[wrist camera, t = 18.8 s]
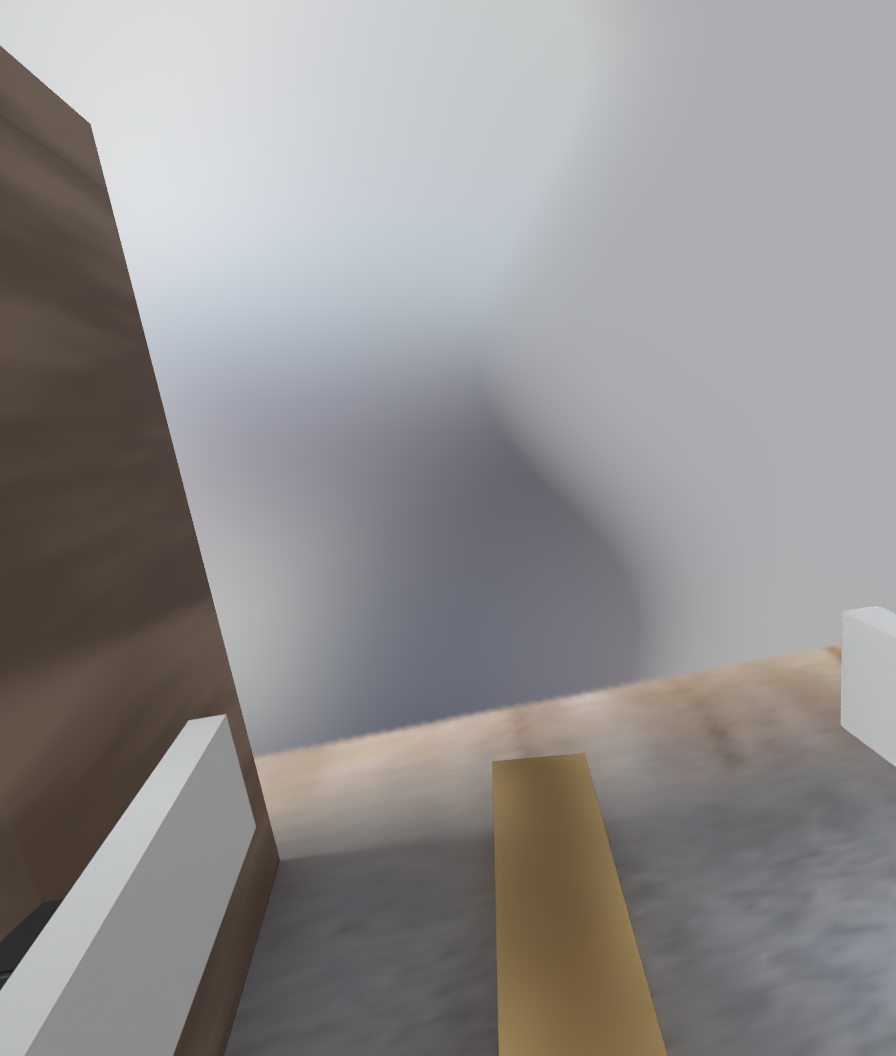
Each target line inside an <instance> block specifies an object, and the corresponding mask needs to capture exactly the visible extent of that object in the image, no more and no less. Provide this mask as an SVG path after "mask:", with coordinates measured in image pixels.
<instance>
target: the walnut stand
mask: <svg viewBox="0 0 896 1056" xmlns="http://www.w3.org/2000/svg"><path fill="white" fill-rule="evenodd" d="M224 714H226V716H227V719H228V723H229V727H230V731H231V735H232V738H233V742H234V746H235V750H236V753H237V757H238V761H239V765H240V769H241V772H242V776H243V780H244V784H245V787H246V791H247V795H248V799H249V803H250V806H251V810H252V814H253V818H254V821H255V825H256V829H255V831H254V834H253V837H252V840H251V842H250V845H249V848H248V851H247V853H246V856H245V859H244V862H243V864H242V867H241V870H240V873H239V875H238V878H237V881H236V884H235V886H234V889H233V892H232V895H231V897H230V900H229V903H228V906H227V908H226V911H225V914H224V917H223V919H222V922H221V925H220V928H219V930H218V933H217V936H216V939H215V941H214V944H213V947H212V950H211V952H210V955H209V958H208V961H207V963H206V966H205V969H204V972H203V974H202V977H201V980H200V983H199V985H198V988H197V991H196V994H195V996H194V999H193V1002H192V1005H191V1007H190V1010H189V1013H188V1016H187V1018H186V1021H185V1024H184V1027H183V1029H182V1032H181V1035H180V1038H179V1041H178V1043H177V1046H176V1049H175V1052H174V1054H173V1056H224V1052H225V1049H226V1045H227V1042H228V1038H229V1035H230V1031H231V1028H232V1024H233V1021H234V1017H235V1014H236V1010H237V1007H238V1003H239V1000H240V996H241V993H242V989H243V986H244V982H245V979H246V975H247V972H248V968H249V965H250V961H251V958H252V954H253V951H254V947H255V944H256V940H257V937H258V933H259V930H260V926H261V923H262V919H263V916H264V912H265V909H266V905H267V902H268V898H269V895H270V891H271V888H272V884H273V881H274V877H275V874H276V870H277V867H278V863H279V860H280V859H279V855H278V851H277V847H276V844H275V840H274V836H273V832H272V828H271V824H270V820H269V816H268V813H267V809H266V805H265V801H264V797H263V793H262V789H261V785H260V781H259V778H258V774H257V770H256V766H255V762H254V758H253V754H252V750H251V747H250V743H249V739H248V735H247V731H246V727H245V724H244V719H243V715H242V711H241V708H240V704H239V700H238V696H237V692H236V689H235V684H234V681H233V677H232V673H231V669H230V665H229V661H228V657H227V653H226V649H225V646H224V642H223V638H222V634H221V630H220V627H219V622H218V618H217V614H216V610H215V607H214V603H213V599H212V595H211V591H210V587H209V583H208V579H207V576H206V572H205V568H204V564H203V560H202V556H201V552H200V548H199V544H198V541H197V537H196V533H195V529H194V525H193V521H192V517H191V513H190V510H189V506H188V502H187V498H186V494H185V490H184V486H183V482H182V478H181V475H180V471H179V467H178V463H177V459H176V455H175V451H174V447H173V443H172V440H171V436H170V432H169V428H168V424H167V420H166V416H165V412H164V408H163V404H162V401H161V397H160V393H159V389H158V385H157V381H156V377H155V373H154V369H153V366H152V362H151V358H150V354H149V350H148V346H147V342H146V338H145V335H144V331H143V327H142V323H141V319H140V315H139V311H138V308H137V304H136V300H135V296H134V292H133V288H132V284H131V280H130V276H129V272H128V269H127V265H126V261H125V257H124V253H123V249H122V245H121V241H120V238H119V233H118V230H117V226H116V222H115V218H114V214H113V211H112V206H111V203H110V199H109V195H108V191H107V187H106V183H105V180H104V175H103V171H102V167H101V164H100V160H99V156H98V152H97V148H96V144H95V140H94V136H93V132H92V129H91V125H90V123H88V122H87V121H86V120H85V119H84V118H83V117H82V116H80V115H79V114H78V113H77V112H76V111H75V110H74V109H72V108H71V107H70V106H69V105H68V104H67V103H65V102H64V101H63V100H62V99H61V98H60V97H59V96H57V95H56V94H55V93H54V92H53V91H52V90H51V89H49V88H48V87H47V86H46V85H45V84H44V83H43V82H41V81H40V80H39V79H38V78H37V77H36V76H34V75H33V74H32V73H31V72H30V71H29V70H28V69H26V68H25V67H24V66H23V65H22V64H21V63H19V62H18V61H17V60H16V59H15V58H14V57H13V56H12V55H10V54H9V53H8V52H7V51H6V50H5V49H3V48H2V47H1V46H0V943H1V942H2V940H3V939H4V938H5V937H6V936H7V935H8V934H9V933H10V932H11V931H12V930H13V929H14V928H16V927H17V926H18V925H19V924H20V923H21V922H22V921H23V920H24V919H26V918H27V917H28V916H29V915H30V914H31V913H32V912H33V911H34V910H35V909H37V908H38V907H39V906H40V905H41V904H42V903H43V902H48V901H54V900H59V899H65V897H66V896H67V894H68V893H69V891H70V890H71V889H72V887H73V886H74V884H75V883H76V881H77V880H78V879H79V877H80V876H81V874H82V873H83V871H84V870H85V869H86V867H87V866H88V864H89V863H90V861H91V860H92V858H93V857H94V856H95V854H96V853H97V851H98V850H99V848H100V847H101V846H102V844H103V843H104V841H105V840H106V838H107V837H108V836H109V834H110V833H111V831H112V830H113V828H114V827H115V825H116V824H117V823H118V821H119V820H120V818H121V817H122V815H123V814H124V813H125V811H126V810H127V808H128V807H129V805H130V804H131V803H132V801H133V800H134V798H135V797H136V795H137V794H138V792H139V791H140V790H141V788H142V787H143V785H144V784H145V782H146V781H147V780H148V778H149V777H150V775H151V774H152V772H153V771H154V770H155V768H156V767H157V765H158V764H159V762H160V761H161V759H162V758H163V757H164V755H165V754H166V752H167V751H168V749H169V748H170V747H171V745H172V744H173V742H174V741H175V739H176V738H177V737H178V735H179V734H180V732H181V731H182V729H183V728H184V726H185V725H186V724H187V722H188V721H189V720H194V719H200V718H206V717H212V716H218V715H224Z"/></svg>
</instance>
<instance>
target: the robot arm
mask: <svg viewBox="0 0 896 1056" xmlns="http://www.w3.org/2000/svg"><path fill="white" fill-rule="evenodd" d="M841 726H842V727H843V728H844V729H846V730H847V731H848V732H850V733H851V734H852V735H854V736H855V737H856V738H858V739H859V740H860V741H862V742H863V743H864V744H866V745H867V746H868V747H870V748H871V749H872V750H874V751H875V752H876V753H878V754H879V755H880V756H882V757H883V758H884V759H886V760H887V761H888V762H890V763H891V764H892V765H894V766H895V767H896V614H895V613H893V612H891V611H888V610H886V609H884V608H882V607H879V606H872V607H866V608H859V609H854V610H848V611H843V612H842V671H841ZM255 829H256V825H255V821H254V818H253V814H252V810H251V806H250V803H249V799H248V795H247V791H246V787H245V784H244V780H243V776H242V772H241V769H240V765H239V761H238V757H237V753H236V750H235V746H234V742H233V738H232V735H231V731H230V727H229V723H228V719H227V716H226V714H224V715H218V716H212V717H206V718H200V719H194V720H189V721H188V722H187V724H186V725H185V726H184V728H183V729H182V731H181V732H180V734H179V735H178V737H177V738H176V739H175V741H174V742H173V744H172V745H171V747H170V748H169V749H168V751H167V752H166V754H165V755H164V757H163V758H162V759H161V761H160V762H159V764H158V765H157V767H156V768H155V770H154V771H153V772H152V774H151V775H150V777H149V778H148V780H147V781H146V782H145V784H144V785H143V787H142V788H141V790H140V791H139V792H138V794H137V795H136V797H135V798H134V800H133V801H132V803H131V804H130V805H129V807H128V808H127V810H126V811H125V813H124V814H123V815H122V817H121V818H120V820H119V821H118V823H117V824H116V825H115V827H114V828H113V830H112V831H111V833H110V834H109V836H108V837H107V838H106V840H105V841H104V843H103V844H102V846H101V847H100V848H99V850H98V851H97V853H96V854H95V856H94V857H93V858H92V860H91V861H90V863H89V864H88V866H87V867H86V869H85V870H84V871H83V873H82V874H81V876H80V877H79V879H78V880H77V881H76V883H75V884H74V886H73V887H72V889H71V890H70V891H69V893H68V894H67V896H66V897H65V899H59V900H54V901H48V902H43V903H42V904H41V905H40V906H39V907H38V908H37V909H35V910H34V911H33V912H32V913H31V914H30V915H29V916H28V917H27V918H26V919H24V920H23V921H22V922H21V923H20V924H19V925H18V926H17V927H16V928H14V929H13V930H12V931H11V932H10V933H9V934H8V935H7V936H6V937H5V938H4V939H3V940H2V942H1V943H0V1056H173V1054H174V1052H175V1049H176V1046H177V1043H178V1041H179V1038H180V1035H181V1032H182V1029H183V1027H184V1024H185V1021H186V1018H187V1016H188V1013H189V1010H190V1007H191V1005H192V1002H193V999H194V996H195V994H196V991H197V988H198V985H199V983H200V980H201V977H202V974H203V972H204V969H205V966H206V963H207V961H208V958H209V955H210V952H211V950H212V947H213V944H214V941H215V939H216V936H217V933H218V930H219V928H220V925H221V922H222V919H223V917H224V914H225V911H226V908H227V906H228V903H229V900H230V897H231V895H232V892H233V889H234V886H235V884H236V881H237V878H238V875H239V873H240V870H241V867H242V864H243V862H244V859H245V856H246V853H247V851H248V848H249V845H250V842H251V840H252V837H253V834H254V831H255Z"/></svg>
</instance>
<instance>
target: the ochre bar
mask: <svg viewBox="0 0 896 1056" xmlns="http://www.w3.org/2000/svg"><path fill="white" fill-rule="evenodd" d="M493 806H494V854H495V902H496V950H497V998H498V1046H499V1056H668V1055H667V1052H666V1048H665V1044H664V1041H663V1037H662V1033H661V1030H660V1026H659V1023H658V1019H657V1015H656V1012H655V1008H654V1004H653V1001H652V997H651V994H650V990H649V986H648V983H647V979H646V975H645V972H644V968H643V964H642V961H641V957H640V954H639V950H638V946H637V943H636V939H635V935H634V932H633V928H632V925H631V921H630V917H629V914H628V910H627V906H626V903H625V899H624V895H623V892H622V888H621V885H620V881H619V877H618V874H617V870H616V866H615V863H614V859H613V855H612V852H611V848H610V845H609V841H608V837H607V834H606V830H605V826H604V823H603V819H602V816H601V812H600V808H599V805H598V801H597V797H596V794H595V790H594V786H593V783H592V779H591V776H590V772H589V768H588V765H587V761H586V757H585V754H584V753H583V754H572V755H560V756H549V757H538V758H527V759H516V760H504V761H493Z"/></svg>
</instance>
